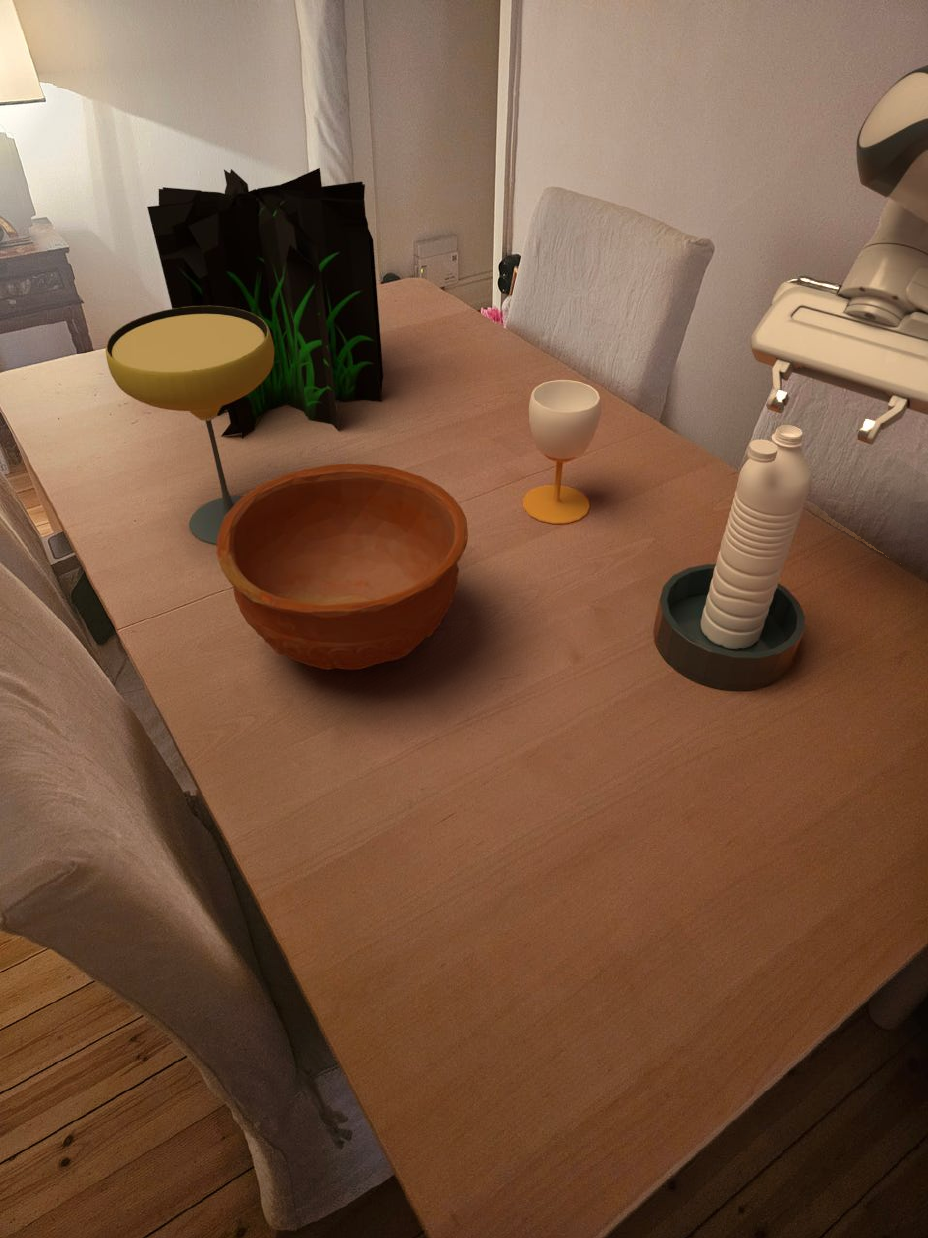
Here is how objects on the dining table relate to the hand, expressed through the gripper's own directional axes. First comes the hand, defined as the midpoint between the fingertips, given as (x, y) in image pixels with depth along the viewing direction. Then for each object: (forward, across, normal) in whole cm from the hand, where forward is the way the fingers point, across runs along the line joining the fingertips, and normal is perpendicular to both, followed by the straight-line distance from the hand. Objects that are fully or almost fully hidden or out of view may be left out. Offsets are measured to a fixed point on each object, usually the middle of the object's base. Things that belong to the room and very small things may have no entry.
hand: (817, 424), depth 82 cm
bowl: (+42, -32, -9) cm, 53 cm away
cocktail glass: (+38, -60, -6) cm, 71 cm away
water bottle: (+23, 0, +8) cm, 24 cm away
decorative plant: (+19, -80, +14) cm, 84 cm away
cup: (+17, -29, +16) cm, 37 cm away
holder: (+23, 0, +9) cm, 25 cm away
